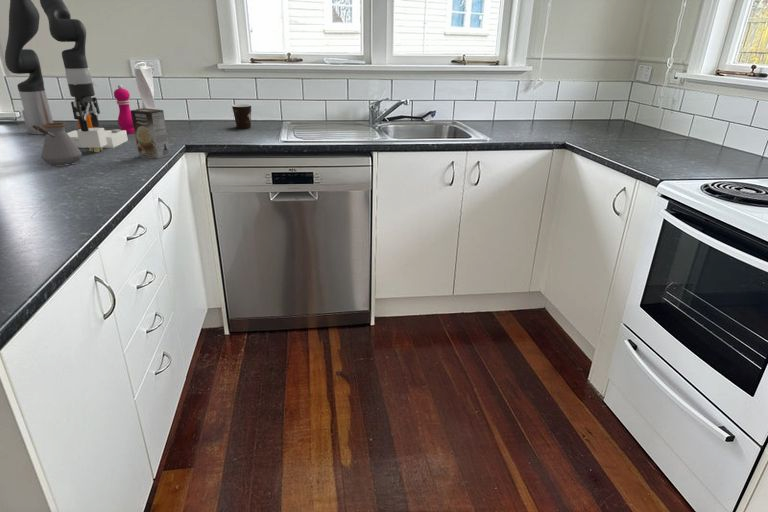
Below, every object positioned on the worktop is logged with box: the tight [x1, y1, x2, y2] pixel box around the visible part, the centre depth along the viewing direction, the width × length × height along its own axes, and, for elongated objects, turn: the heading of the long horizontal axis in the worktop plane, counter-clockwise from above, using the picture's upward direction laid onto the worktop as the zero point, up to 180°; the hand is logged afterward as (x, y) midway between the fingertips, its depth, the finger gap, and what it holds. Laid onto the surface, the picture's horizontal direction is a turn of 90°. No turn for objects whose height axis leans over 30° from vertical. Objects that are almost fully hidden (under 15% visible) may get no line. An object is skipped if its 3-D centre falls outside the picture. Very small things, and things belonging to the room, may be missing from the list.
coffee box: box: [130, 107, 171, 160], centre depth 174 cm, size 9×6×16 cm
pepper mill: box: [113, 84, 135, 135], centre depth 212 cm, size 7×7×20 cm
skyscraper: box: [133, 61, 158, 110], centre depth 228 cm, size 8×8×28 cm
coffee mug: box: [231, 103, 252, 130], centre depth 228 cm, size 12×9×10 cm
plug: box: [73, 127, 107, 153], centre depth 181 cm, size 10×6×8 cm, turn 94°
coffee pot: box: [30, 122, 82, 166], centre depth 158 cm, size 21×12×15 cm, turn 13°
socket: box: [66, 128, 129, 149], centre depth 193 cm, size 20×14×5 cm
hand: (90, 129), depth 179 cm, fingers open, 8 cm apart
